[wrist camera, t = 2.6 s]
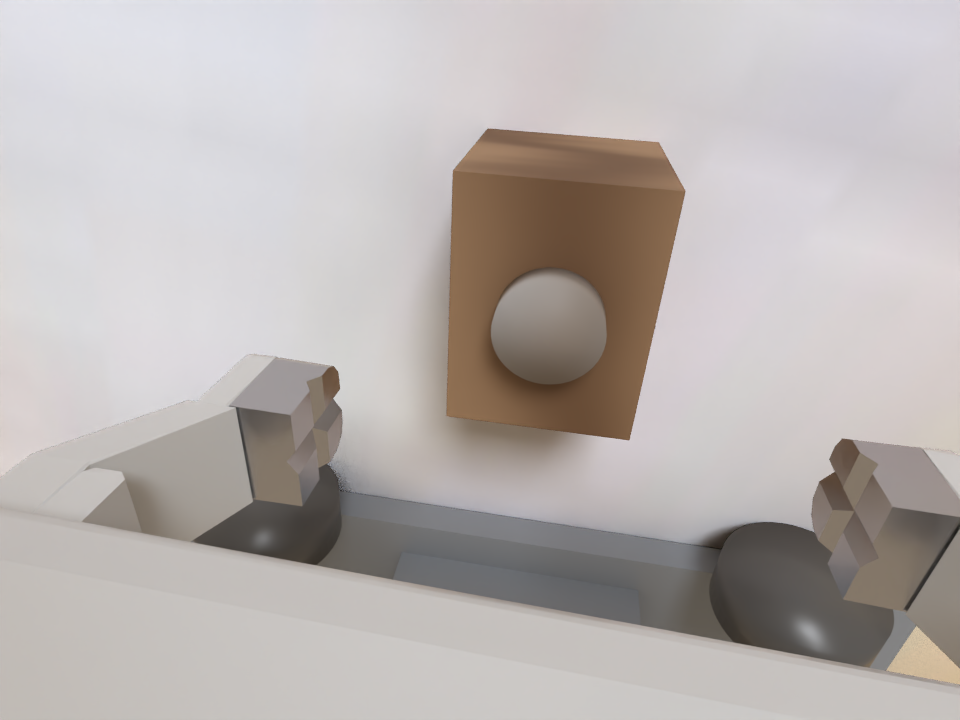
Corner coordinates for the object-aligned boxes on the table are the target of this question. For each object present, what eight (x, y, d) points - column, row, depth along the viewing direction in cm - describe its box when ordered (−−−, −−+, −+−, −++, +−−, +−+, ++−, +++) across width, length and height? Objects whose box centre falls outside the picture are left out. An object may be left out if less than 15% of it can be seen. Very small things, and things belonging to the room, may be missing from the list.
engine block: (477, 325, 19) (440, 435, 14) (488, 127, 16) (444, 180, 11) (619, 342, 19) (631, 461, 14) (658, 141, 16) (692, 202, 11)
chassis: (240, 688, 32) (188, 791, 28) (174, 433, 24) (82, 527, 19) (777, 792, 29) (809, 925, 25) (933, 545, 21) (1023, 685, 16)
